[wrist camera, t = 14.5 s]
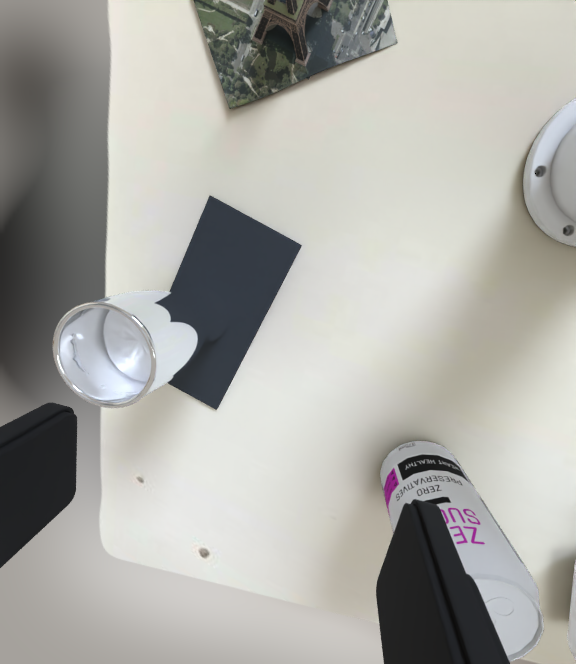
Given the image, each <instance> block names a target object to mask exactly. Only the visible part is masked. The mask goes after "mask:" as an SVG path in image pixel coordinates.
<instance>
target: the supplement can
mask: <svg viewBox="0 0 576 664" xmlns="http://www.w3.org/2000/svg"><path fill="white" fill-rule="evenodd" d="M380 476H381V483H382V488H383V492H384V496H385V500H386V504H387V508H388V513H389V517H390V521H391V525H392V529H393V533H394V531H395V528H396V525H397V522H398V520H399V517H400V514H401V511H402V508H403V506H404V504H405V503H408V504H411V502H412V501H413V499H417V500H421V501H424V502H428V503H432V504H436V505H437V506H439V508H440V510H441V512H442V515H443V517H444V520H445V522H446V525H447V527H448V530H449V532H450V535H451V537H452V540H453V542H454V544H455V547H456V549H457V552H458V554H459V557H460V559H461V562H462V564H463V567H464V569H465V572H466V574H469V575H470V576H471V577H472V578H473V579H474V581H475V583H476V585H477V586H478V589H479V591H480V593H481V596H482V598H483V600H484V603H485V605H486V608H487V610H488V612H489V615H490V617H491V619H492V622H493V624H494V626H495V629H496V631H497V634H498V636H499V638H500V641H501V643H502V645H503V648H504V650H505V652H506V655H507V657H508V660H509V662H511V661H514V660H516V659H519V658H521V657H524V656H525V655H526V654H527V653H528V652H530V651H531V650H532V649H533V648H534V647H535V646H536V645H537V644H538V642H539V640H540V638H541V635H542V633H543V631H544V624H543V614H542V612H541V610H540V605H539V592H538V587H537V585H536V584H535V582H534V580H533V578H532V576H531V574H530V572H529V571H528V569H527V568H526V566H525V565H524V563H523V562H522V560H521V558H520V557H519V555H518V554H517V552H516V551H515V549H514V548H513V546H512V545H511V543H510V541H509V540H508V538H507V537H506V535H505V534H504V532H503V531H502V529H501V528H500V526H499V524H498V523H497V521H496V520H495V518H494V517H493V515H492V514H491V512H490V511H489V509H488V507H487V506H486V504H485V503H484V501H483V500H482V498H481V497H480V495H479V494H478V492H477V490H476V489H475V487H474V486H473V484H472V483H471V481H470V480H469V478H468V477H467V475H466V473H465V472H464V470H463V469H462V467H461V466H460V464H459V463H458V461H457V460H456V458H455V456H454V455H453V454H452V453H450V452H449V451H448V450H447V449H446V448H444V447H443V446H440V445H438V444H435V443H432V442H428V441H413V442H409V443H405V444H402V445H400V446H399V447H397V448H396V449H394V450H392V451H391V452H390V453H389V454H388V456H387V457H386V458H385V460H384V461H383V464H382V467H381V471H380Z"/></svg>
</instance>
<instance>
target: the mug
mask: <svg viewBox="0 0 576 664" xmlns="http://www.w3.org/2000/svg"><path fill="white" fill-rule="evenodd" d="M567 638H568V644H569V647H570V650H571V653H572V655H573V657H574V658H575V660H576V561H575V566H574V576H573V586H572V595H571V605H570V615H569V625H568V635H567Z"/></svg>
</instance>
